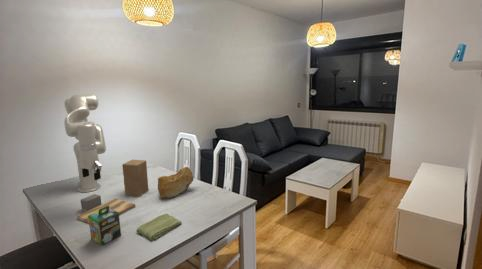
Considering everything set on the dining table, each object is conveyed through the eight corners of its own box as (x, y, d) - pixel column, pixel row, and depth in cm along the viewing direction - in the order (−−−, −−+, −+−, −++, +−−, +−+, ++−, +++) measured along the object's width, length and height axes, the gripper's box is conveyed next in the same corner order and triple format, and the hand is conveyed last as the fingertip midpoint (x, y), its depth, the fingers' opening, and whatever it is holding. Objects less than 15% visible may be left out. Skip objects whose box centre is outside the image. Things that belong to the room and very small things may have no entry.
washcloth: (183, 224, 122) (182, 218, 122) (152, 243, 108) (151, 236, 107) (165, 216, 130) (165, 210, 129) (134, 233, 115) (134, 226, 115)
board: (77, 219, 126) (77, 216, 126) (115, 201, 146) (115, 198, 145) (98, 226, 120) (98, 223, 119) (135, 206, 139) (135, 204, 139)
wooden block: (139, 196, 152) (136, 165, 148) (125, 195, 154) (121, 164, 150) (148, 190, 161) (146, 160, 157) (134, 188, 163) (132, 159, 159)
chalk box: (110, 229, 118) (107, 200, 115) (122, 235, 113) (118, 205, 110) (90, 239, 110) (86, 208, 107) (101, 246, 105) (97, 214, 102)
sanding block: (81, 210, 136) (80, 199, 135) (95, 203, 143) (94, 194, 142) (87, 212, 134) (86, 201, 132) (101, 205, 141) (100, 195, 139)
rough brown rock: (183, 184, 173) (180, 163, 170) (197, 189, 161) (194, 166, 159) (151, 195, 156) (147, 172, 154) (164, 202, 145) (160, 177, 142)
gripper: (70, 147, 132) (75, 177, 136) (91, 150, 125) (95, 183, 128) (84, 144, 139) (88, 173, 142) (105, 147, 131) (108, 178, 135)
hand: (91, 177), depth 135 cm, fingers open, 9 cm apart
